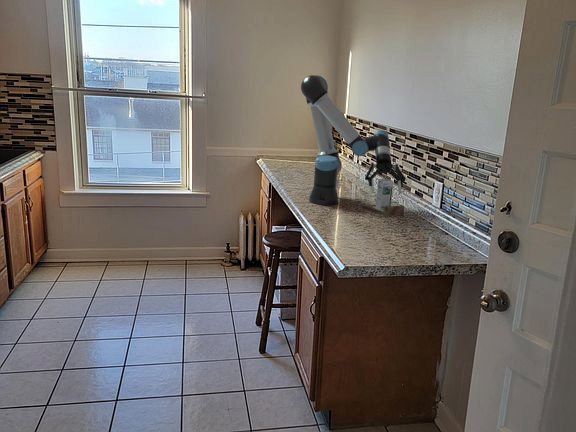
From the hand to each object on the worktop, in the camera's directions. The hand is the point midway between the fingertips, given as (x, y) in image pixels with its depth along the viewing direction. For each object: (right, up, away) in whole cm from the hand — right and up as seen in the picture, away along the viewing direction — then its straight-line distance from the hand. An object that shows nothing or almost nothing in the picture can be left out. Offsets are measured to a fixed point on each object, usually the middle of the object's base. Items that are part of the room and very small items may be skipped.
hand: (386, 192), depth 251 cm
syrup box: (-1, -8, +5) cm, 9 cm away
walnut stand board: (-1, -9, +5) cm, 10 cm away
